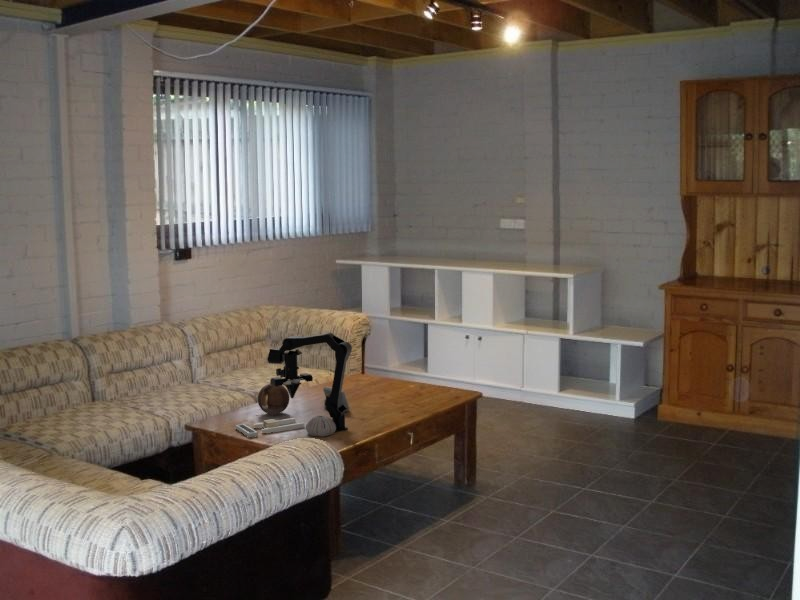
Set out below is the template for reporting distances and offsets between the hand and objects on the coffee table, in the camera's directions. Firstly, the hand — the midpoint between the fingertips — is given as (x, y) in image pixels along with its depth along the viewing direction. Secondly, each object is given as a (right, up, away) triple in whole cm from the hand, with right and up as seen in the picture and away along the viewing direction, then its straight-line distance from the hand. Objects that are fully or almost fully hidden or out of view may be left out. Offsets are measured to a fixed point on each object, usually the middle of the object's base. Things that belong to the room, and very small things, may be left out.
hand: (292, 398), depth 409 cm
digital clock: (+18, -9, +31) cm, 37 cm away
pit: (-19, -14, -10) cm, 26 cm away
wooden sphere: (-11, -10, +22) cm, 27 cm away
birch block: (-9, -14, -4) cm, 17 cm away
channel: (-6, -13, -2) cm, 15 cm away
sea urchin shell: (+14, -15, -12) cm, 24 cm away
